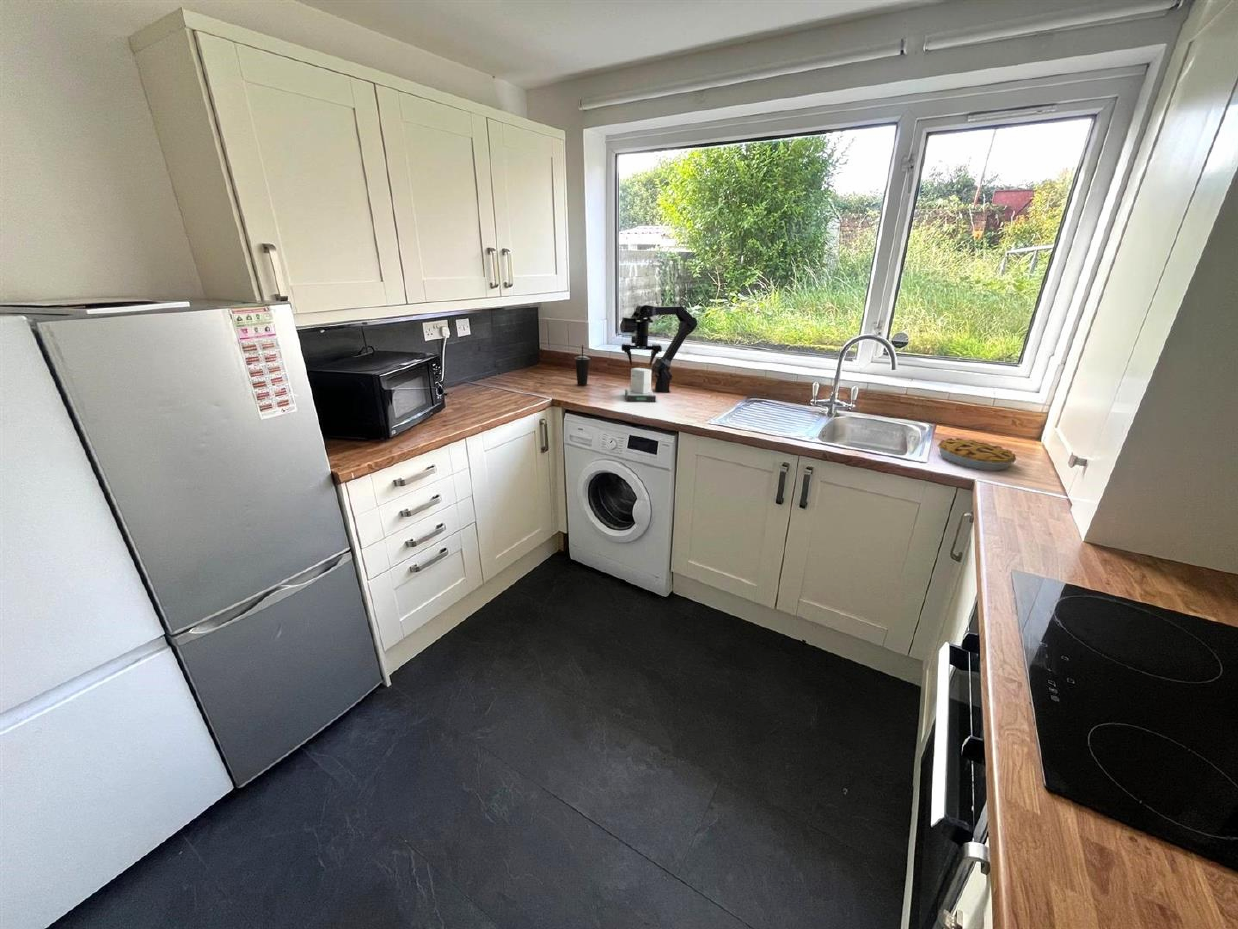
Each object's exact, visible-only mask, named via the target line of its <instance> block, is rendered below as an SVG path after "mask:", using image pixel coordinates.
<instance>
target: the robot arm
mask: <svg viewBox="0 0 1238 929" xmlns="http://www.w3.org/2000/svg"><path fill="white" fill-rule="evenodd" d="M634 310H635V311H634V312H633V314H632V315H631V316H630V317H626V316H625V317H624V316H623V317H622V318H621V321H620V324H619V329H620V332H621V333H623V334H629V333H633V334H634V333H635V335H634V336H633V335H631V338H630V339H631V342H630V343H621V348H620V350H621V351H622V352H624V354H626V355H627V358H628V361H629V365H630V367H632V365H633V362H632V351H631V350H642V351H643V350H644V351H645V350H647V351H650V358H649V367H651V366H652V368H651V370H652V374H654V377H655V378H656V380H655V381H654V390H655V391H656V393H670V392H671V391H670V385H671V384H670V383H671V381H672V379H673V375H672V373H671V372H670V370H671V364H672V361H673V359H674V358H675V356H676V354H677V352H678V351H679V350H680V348H681V346H682V344H683V343H684V341H685V340H686V337H688V336H689V335H691V333H693V332H694V330H695V329H696V328H697V327H698V324H699V323H698V320H697V318H696V317H694V316H693V315H691V313H690V312H688V311H687V309H686V308H684V306H683V305H660V306H659V305H658V306H657V305H655V306H654V305H653V306H652V305H649V304H643V303H640V304H638V305H637V306H636V307H635V309H634ZM665 315H666V316H667V315H668V316H671V315H675V316H676V318H677V320H678V321H679V325H678V330H677V332H676V334H675V335H674V337H673V339H672V340H671V342H670V343H669V346H668V347H667V349H666V351H665V352H664V354H663V355H662V357H660V358H658V357H656V356H657V354H658V355H659V353H663V352H662V350H663V347H662V346H661V344H660V343H657V344H656V343H653V344H651V345H649V328H650V327H649V326H650V324H652V323H654V320H653V319H652V317H655V316H665ZM633 344H634V345H633ZM655 358H656V359H655ZM654 359H655V361H654ZM653 361H654V362H653Z"/></svg>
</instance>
